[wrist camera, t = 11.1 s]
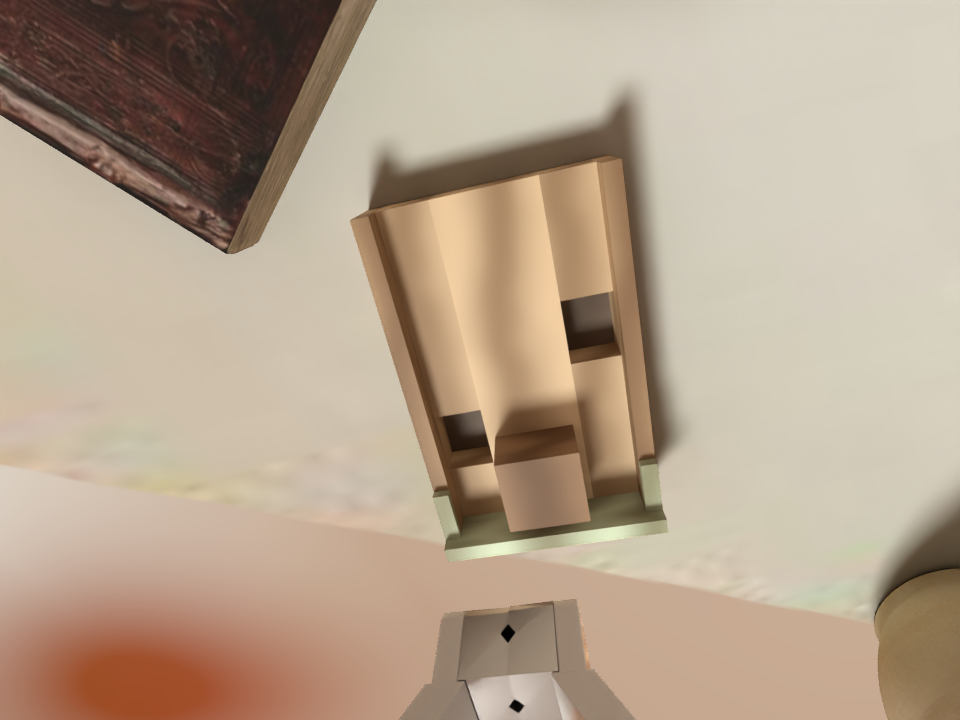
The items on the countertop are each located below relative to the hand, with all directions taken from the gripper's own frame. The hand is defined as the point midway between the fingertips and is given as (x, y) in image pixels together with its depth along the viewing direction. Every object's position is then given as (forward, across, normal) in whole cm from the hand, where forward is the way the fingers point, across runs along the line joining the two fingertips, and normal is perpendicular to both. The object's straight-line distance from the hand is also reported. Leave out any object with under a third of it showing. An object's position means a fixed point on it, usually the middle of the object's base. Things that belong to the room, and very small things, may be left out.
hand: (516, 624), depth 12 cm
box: (+23, 0, +4) cm, 24 cm away
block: (+21, 0, +10) cm, 23 cm away
